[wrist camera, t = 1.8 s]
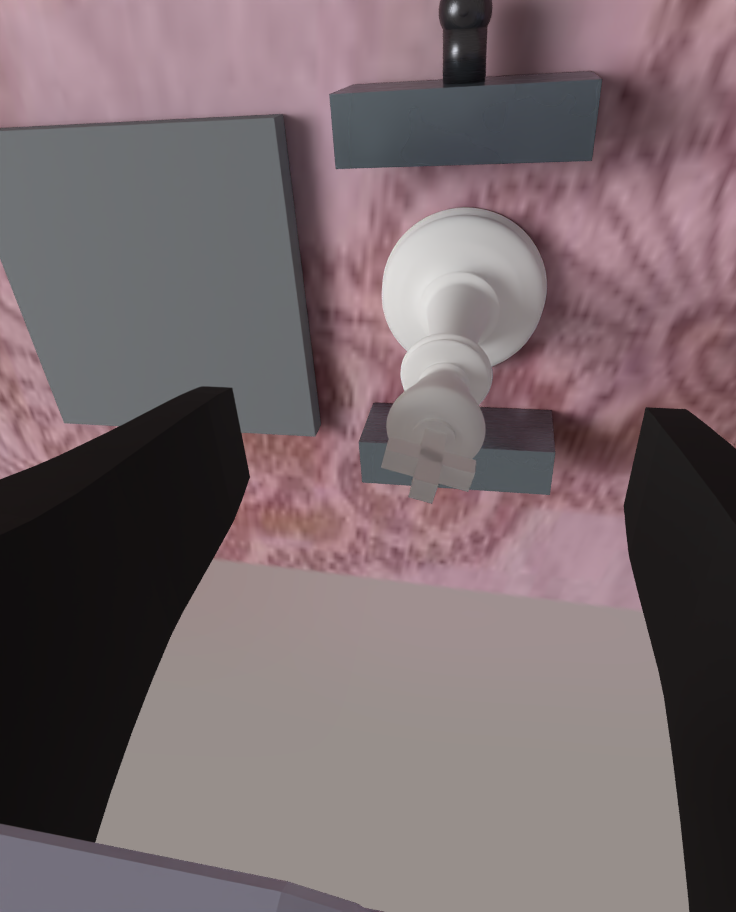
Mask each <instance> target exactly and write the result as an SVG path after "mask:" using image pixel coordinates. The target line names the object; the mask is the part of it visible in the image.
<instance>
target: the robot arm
mask: <svg viewBox="0 0 736 912" xmlns="http://www.w3.org/2000/svg"><path fill="white" fill-rule="evenodd" d="M249 478H250V475H249V470H248V465H247V460H246V454H245V449H244V444H243V439H242V434H241V429H240V424H239V419H238V414H237V409H236V404H235V398H234V393H233V388H230V387H210V386H201V387H198V388H195V389H193V390H190V391H188V392H186V393H184V394H181V395H179V396H177V397H175V398H173V399H171V400H169V401H167V402H165V403H163V404H161V405H159V406H157V407H155V408H154V409H152V410H150V411H148V412H146V413H144V414H142V415H140V416H138V417H136V418H134V419H132V420H130V421H129V422H127V423H125V424H123V425H121V426H119V427H117V428H115V429H113V430H111V431H109V432H107V433H105V434H103V435H101V436H99V437H97V438H95V439H93V440H91V441H88V442H86V443H84V444H82V445H80V446H78V447H76V448H74V449H72V450H70V451H68V452H65V453H63V454H61V455H59V456H57V457H55V458H52V459H50V460H48V461H45V462H43V463H41V464H38V465H36V466H33V467H31V468H29V469H26V470H23V471H21V472H18V473H16V474H13V475H10V476H8V477H5V478H3V479H0V912H383V911H378V910H373V909H368V908H364V907H362V906H360V905H359V904H357V903H355V902H351V901H348V900H345V899H342V898H339V897H336V896H332V895H329V894H326V893H323V892H320V891H317V890H314V889H310V888H307V887H304V886H301V885H298V884H294V883H291V882H288V881H283V880H278V879H273V878H268V877H263V876H258V875H253V874H248V873H243V872H238V871H233V870H228V869H223V868H218V867H213V866H208V865H203V864H198V863H193V862H188V861H183V860H178V859H173V858H168V857H163V856H158V855H153V854H148V853H143V852H138V851H133V850H128V849H124V848H118V847H114V846H108V845H104V844H99V843H95V841H96V838H97V834H98V831H99V828H100V825H101V822H102V819H103V816H104V812H105V809H106V806H107V803H108V799H109V796H110V793H111V790H112V788H113V785H114V782H115V779H116V776H117V773H118V770H119V767H120V765H121V762H122V759H123V756H124V753H125V751H126V748H127V745H128V742H129V739H130V736H131V733H132V731H133V728H134V726H135V723H136V720H137V718H138V715H139V713H140V710H141V708H142V705H143V702H144V700H145V697H146V694H147V692H148V690H149V687H150V684H151V682H152V679H153V677H154V675H155V672H156V670H157V667H158V665H159V663H160V661H161V658H162V656H163V653H164V651H165V649H166V646H167V644H168V641H169V639H170V637H171V635H172V632H173V631H174V629H175V627H176V625H177V623H178V621H179V619H180V617H181V615H182V613H183V611H184V609H185V607H186V606H187V604H188V602H189V600H190V599H191V597H192V595H193V593H194V591H195V590H196V588H197V586H198V584H199V583H200V581H201V579H202V577H203V575H204V574H205V572H206V570H207V568H208V567H209V565H210V563H211V561H212V560H213V558H214V556H215V554H216V552H217V551H218V549H219V547H220V545H221V543H222V542H223V540H224V538H225V536H226V534H227V532H228V531H229V529H230V527H231V525H232V523H233V521H234V519H235V516H236V514H237V511H238V509H239V506H240V504H241V501H242V498H243V496H244V493H245V490H246V487H247V484H248V481H249ZM624 514H625V525H626V535H627V543H628V552H629V558H630V562H631V566H632V570H633V574H634V578H635V582H636V586H637V590H638V594H639V598H640V602H641V606H642V610H643V613H644V617H645V621H646V624H647V629H648V633H649V636H650V640H651V644H652V648H653V651H654V656H655V659H656V663H657V667H658V671H659V676H660V680H661V685H662V690H663V695H664V700H665V707H666V714H667V721H668V728H669V736H670V742H671V750H672V756H673V765H674V773H675V781H676V789H677V798H678V806H679V814H680V822H681V832H682V842H683V850H684V861H685V871H686V880H687V889H688V900H689V912H736V449H735V448H734V447H733V446H732V445H731V444H729V443H728V442H727V441H726V440H725V439H723V438H722V437H721V436H720V435H718V434H717V433H716V432H715V431H714V430H712V429H711V428H710V427H709V426H707V425H706V424H705V423H704V422H703V421H701V420H700V419H699V418H697V417H696V416H695V415H693V414H692V413H691V412H689V411H688V410H686V409H669V408H648V407H646V409H645V413H644V418H643V422H642V426H641V431H640V435H639V440H638V444H637V449H636V453H635V458H634V462H633V466H632V471H631V475H630V480H629V484H628V489H627V493H626V498H625V502H624Z"/></svg>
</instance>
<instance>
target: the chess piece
mask: <svg viewBox="0 0 736 912" xmlns="http://www.w3.org/2000/svg"><path fill="white" fill-rule="evenodd" d="M546 294H547V278H546V271H545V267H544V263H543V260H542V257H541V255H540V253H539V251H538V249H537V247H536V245H535V244H534V242H533V241H532V240H531V238H530V237H529V236H528V235H527V234H526V233H525V232H524V231H523V230H522V229H521V228H520V227H519V226H518V225H517V224H515V223H514V222H512V221H511V220H509V219H508V218H506V217H504V216H502V215H500V214H497V213H495V212H492V211H488V210H484V209H479V208H453V209H448V210H444V211H440V212H437V213H435V214H432V215H430V216H428V217H426V218H424V219H422V220H421V221H419V222H418V223H416V224H415V225H414V226H412V227H411V228H410V229H409V230H408V231H407V232H406V233H405V234H404V235H403V236H402V237H401V238H400V240H399V241H398V242H397V244H396V245H395V247H394V248H393V250H392V252H391V254H390V256H389V258H388V261H387V263H386V267H385V270H384V275H383V284H382V305H383V310H384V314H385V318H386V321H387V323H388V326H389V328H390V330H391V332H392V333H393V335H394V336H395V338H396V339H397V341H398V342H399V343H400V344H401V346H402V347H403V348H404V349H405V350H406V351H408V352H407V353H406V355H405V357H404V359H403V361H402V365H401V382H402V385H403V388H404V391H405V392H404V393H402V394H401V395H400V396H399V397H398V398H397V399H396V401H395V402H394V403H393V405H392V407H391V409H390V411H389V413H388V417H387V423H386V428H387V435H388V438H389V440H388V443H387V446H386V450H385V454H384V457H383V461H382V465H381V468H384V469H388V470H391V471H395V472H398V473H402V474H406V475H409V476H413V479H412V484H411V488H410V493H409V497H410V498H413V499H417V500H420V501H424V502H427V503H431V504H432V502H433V499H434V496H435V493H436V490H437V487H438V484H442V485H445V486H449V487H453V488H456V489H460V490H463V491H467V492H468V491H469V488H470V486H471V483H472V480H473V478H474V475H475V468H476V460H473V458H474V457H475V456H476V454H477V453H478V452H479V450H480V449H481V447H482V445H483V442H484V438H485V430H486V429H485V421H484V417H483V414H482V411H481V409H480V407H479V404H480V403H481V402H482V401H483V400H484V399H485V397H486V396H487V394H488V392H489V390H490V387H491V384H492V377H493V374H492V366H495V365H497V364H499V363H501V362H503V361H505V360H506V359H508V358H510V357H511V356H512V355H514V354H515V353H516V352H517V351H519V350H520V349H521V348H522V347H523V346H524V345H525V343H526V342H527V341H528V340H529V338H530V337H531V336H532V334H533V332H534V331H535V329H536V327H537V325H538V323H539V320H540V318H541V315H542V311H543V308H544V305H545V300H546Z"/></svg>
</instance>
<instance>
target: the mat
mask: <svg viewBox="0 0 736 912" xmlns="http://www.w3.org/2000/svg"><path fill="white" fill-rule="evenodd" d="M0 259H1V262H2V264H3V267H4V270H5V272H6V275H7V277H8V280H9V282H10V285H11V287H12V290H13V293H14V295H15V298H16V300H17V303H18V305H19V308H20V311H21V313H22V316H23V318H24V321H25V323H26V326H27V329H28V331H29V334H30V336H31V339H32V341H33V344H34V347H35V349H36V352H37V354H38V357H39V359H40V362H41V365H42V367H43V370H44V372H45V375H46V377H47V380H48V383H49V385H50V388H51V390H52V393H53V395H54V398H55V400H56V403H57V406H58V408H59V411H60V413H61V416H62V418H63V421H64V423H70V424H89V425H108V426H121V425H123V424H125V423H127V422H129V421H130V420H132V419H134V418H136V417H138V416H140V415H142V414H144V413H146V412H148V411H150V410H152V409H154V408H155V407H157V406H159V405H161V404H163V403H165V402H167V401H169V400H171V399H173V398H175V397H177V396H179V395H181V394H184V393H186V392H188V391H190V390H193V389H195V388H198V387H201V386H210V387H230V388H233V393H234V398H235V404H236V409H237V414H238V419H239V424H240V429H241V433H259V434H278V435H297V436H316V434H317V432H318V430H319V428H320V426H321V421H320V413H319V405H318V396H317V388H316V380H315V372H314V364H313V356H312V347H311V339H310V331H309V323H308V315H307V307H306V298H305V290H304V282H303V274H302V266H301V258H300V249H299V241H298V233H297V225H296V217H295V208H294V200H293V192H292V184H291V176H290V168H289V159H288V151H287V143H286V135H285V127H284V119H283V114H273V115H253V116H233V117H213V118H193V119H173V120H153V121H133V122H113V123H93V124H73V125H53V126H32V127H12V128H0Z"/></svg>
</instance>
